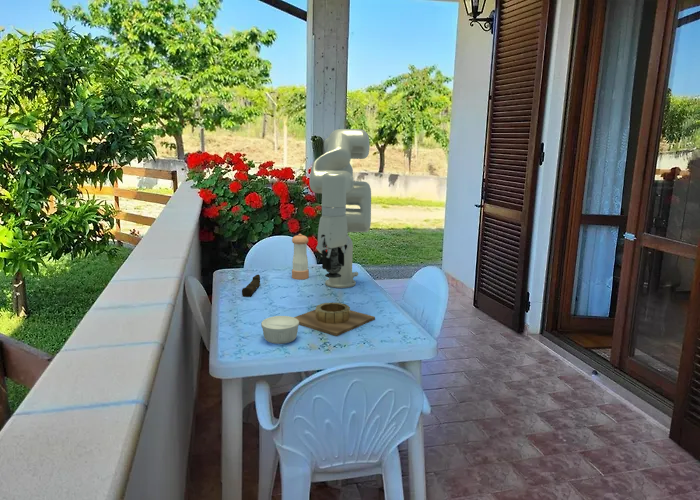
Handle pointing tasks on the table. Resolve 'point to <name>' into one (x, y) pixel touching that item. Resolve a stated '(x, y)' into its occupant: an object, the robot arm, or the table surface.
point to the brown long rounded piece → (251, 286)
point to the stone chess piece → (334, 264)
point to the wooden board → (334, 329)
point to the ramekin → (280, 329)
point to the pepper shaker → (300, 258)
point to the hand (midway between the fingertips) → (333, 266)
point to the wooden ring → (332, 313)
